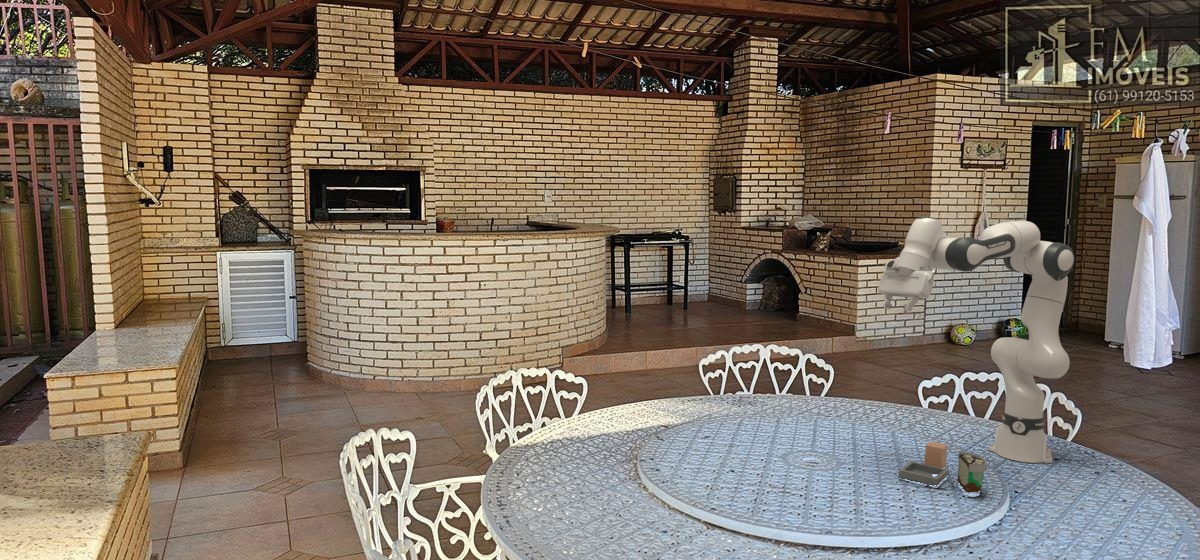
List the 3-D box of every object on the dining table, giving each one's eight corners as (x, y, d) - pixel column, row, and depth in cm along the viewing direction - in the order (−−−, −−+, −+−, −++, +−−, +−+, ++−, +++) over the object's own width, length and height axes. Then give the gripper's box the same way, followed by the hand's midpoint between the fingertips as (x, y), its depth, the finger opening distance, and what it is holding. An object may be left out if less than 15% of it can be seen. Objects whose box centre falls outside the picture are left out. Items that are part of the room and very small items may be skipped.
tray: (910, 470, 238) (910, 461, 238) (947, 479, 231) (948, 469, 231) (898, 479, 230) (898, 469, 230) (936, 489, 223) (937, 479, 223)
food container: (990, 501, 215) (993, 467, 214) (967, 499, 216) (969, 464, 215) (978, 485, 227) (981, 453, 226) (955, 483, 228) (958, 451, 227)
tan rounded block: (928, 466, 243) (930, 441, 242) (945, 470, 240) (947, 445, 239) (923, 470, 239) (925, 445, 238) (940, 474, 236) (942, 448, 235)
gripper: (944, 271, 223) (928, 316, 222) (898, 270, 243) (883, 311, 241) (927, 263, 221) (911, 308, 220) (882, 262, 241) (867, 303, 240)
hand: (896, 309), depth 231 cm, fingers open, 8 cm apart
